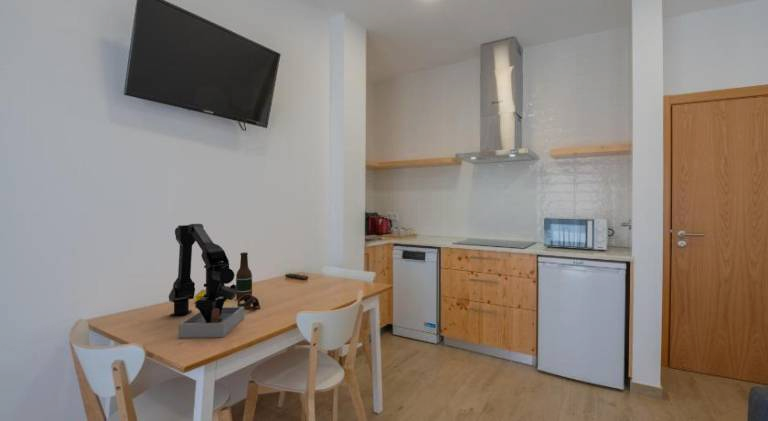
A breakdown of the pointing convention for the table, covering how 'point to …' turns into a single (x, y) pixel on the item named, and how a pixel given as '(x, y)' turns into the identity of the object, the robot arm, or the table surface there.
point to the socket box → (211, 324)
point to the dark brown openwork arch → (248, 301)
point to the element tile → (202, 295)
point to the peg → (215, 316)
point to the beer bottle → (243, 277)
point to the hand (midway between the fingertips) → (213, 319)
